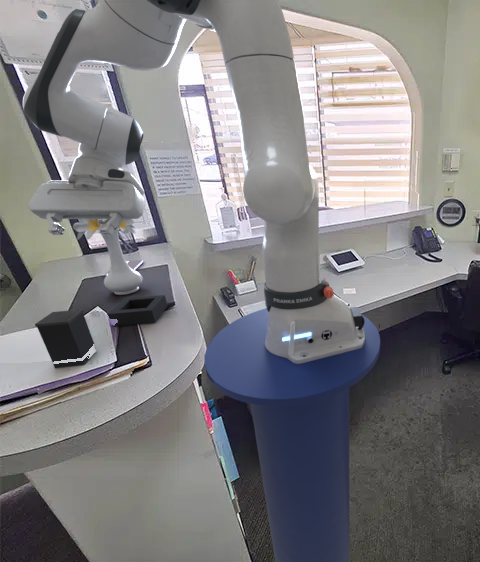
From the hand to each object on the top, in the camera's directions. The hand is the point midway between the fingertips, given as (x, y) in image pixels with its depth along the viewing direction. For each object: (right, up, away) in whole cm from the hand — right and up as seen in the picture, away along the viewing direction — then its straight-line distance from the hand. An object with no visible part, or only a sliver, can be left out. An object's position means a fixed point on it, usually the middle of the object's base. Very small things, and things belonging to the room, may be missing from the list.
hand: (81, 233), depth 66 cm
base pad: (+2, -19, +15) cm, 24 cm away
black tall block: (+2, -26, -2) cm, 26 cm away
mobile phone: (-27, -6, +46) cm, 54 cm away
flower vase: (-14, -13, +29) cm, 35 cm away
